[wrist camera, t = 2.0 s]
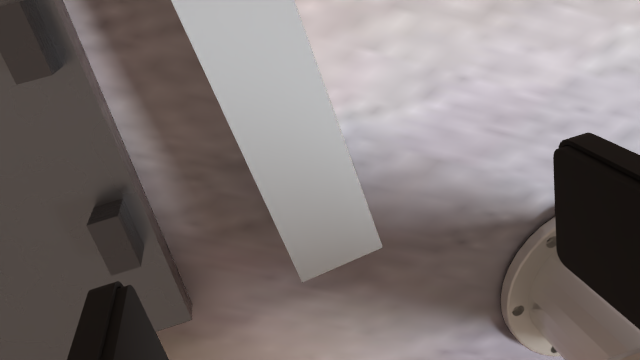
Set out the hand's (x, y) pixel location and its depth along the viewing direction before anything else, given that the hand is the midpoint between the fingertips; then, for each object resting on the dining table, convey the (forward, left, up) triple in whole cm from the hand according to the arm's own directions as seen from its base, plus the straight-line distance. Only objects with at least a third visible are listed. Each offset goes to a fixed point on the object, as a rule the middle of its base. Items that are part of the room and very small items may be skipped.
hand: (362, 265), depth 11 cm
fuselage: (0, 0, -18) cm, 18 cm away
